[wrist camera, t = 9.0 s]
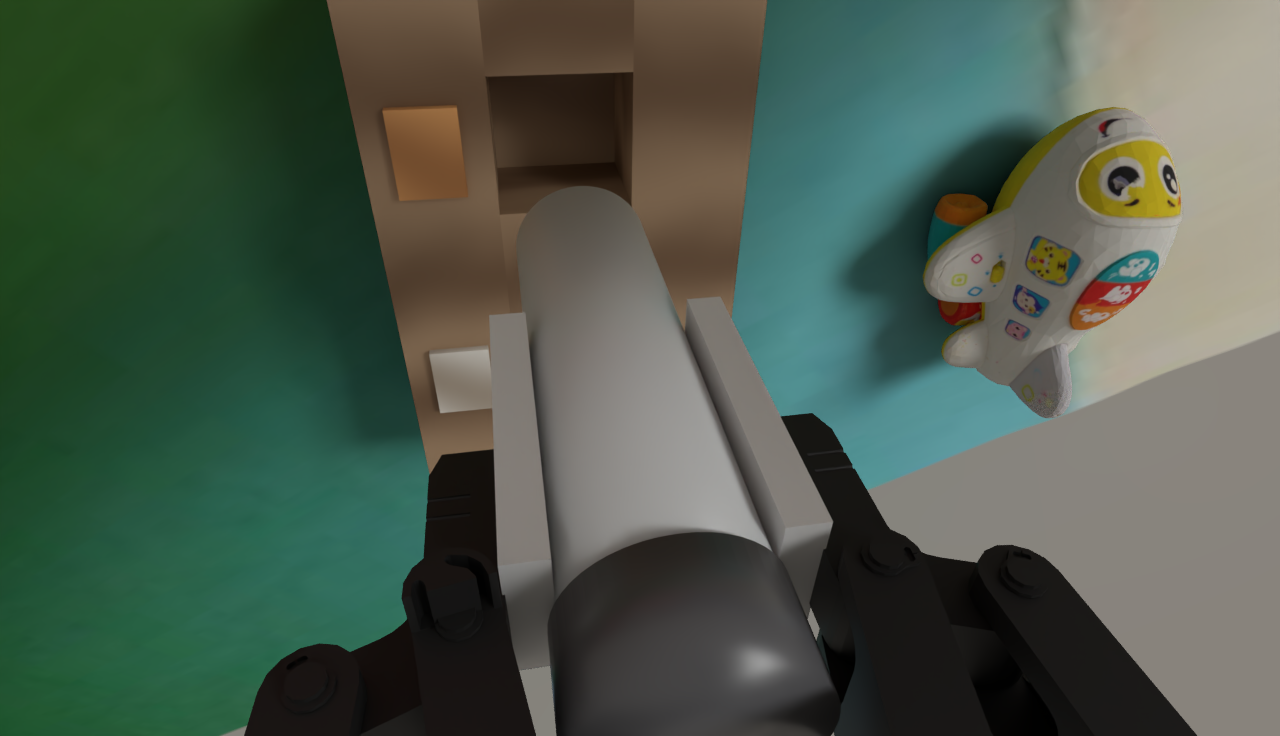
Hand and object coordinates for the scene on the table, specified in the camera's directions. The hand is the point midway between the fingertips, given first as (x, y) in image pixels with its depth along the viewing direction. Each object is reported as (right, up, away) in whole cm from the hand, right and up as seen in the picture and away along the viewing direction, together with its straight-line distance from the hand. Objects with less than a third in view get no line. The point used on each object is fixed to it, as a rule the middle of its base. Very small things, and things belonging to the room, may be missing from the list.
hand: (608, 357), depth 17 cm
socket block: (-3, +7, +18) cm, 19 cm away
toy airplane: (+21, +7, +23) cm, 32 cm away
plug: (-1, +3, +4) cm, 5 cm away
